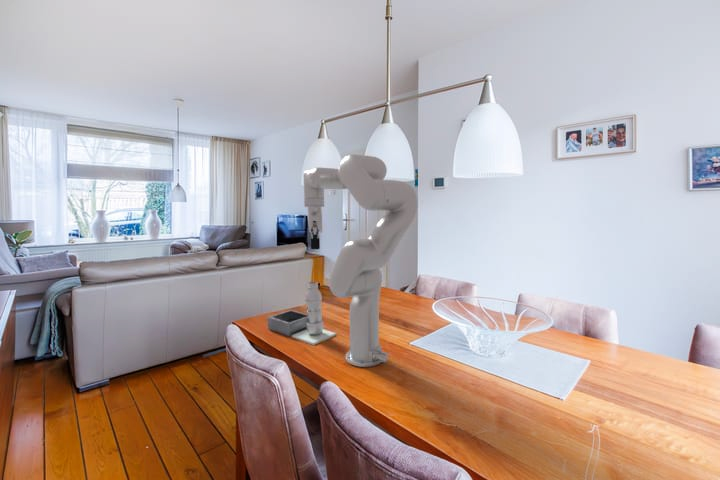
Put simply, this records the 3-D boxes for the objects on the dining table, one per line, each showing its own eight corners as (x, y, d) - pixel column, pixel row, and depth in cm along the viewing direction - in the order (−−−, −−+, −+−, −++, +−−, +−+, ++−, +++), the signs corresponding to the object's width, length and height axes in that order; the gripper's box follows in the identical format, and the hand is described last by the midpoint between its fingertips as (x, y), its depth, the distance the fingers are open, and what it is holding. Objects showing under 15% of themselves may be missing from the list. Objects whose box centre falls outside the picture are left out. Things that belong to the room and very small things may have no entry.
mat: (336, 335, 130) (336, 333, 130) (313, 345, 120) (313, 343, 120) (314, 328, 137) (314, 326, 137) (291, 337, 128) (291, 335, 128)
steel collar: (312, 327, 138) (312, 315, 138) (289, 336, 129) (288, 324, 128) (291, 320, 146) (291, 309, 146) (268, 328, 137) (267, 317, 136)
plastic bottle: (323, 336, 126) (321, 284, 124) (305, 337, 126) (303, 285, 124) (324, 330, 133) (322, 280, 131) (306, 331, 132) (304, 281, 130)
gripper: (324, 202, 119) (325, 250, 121) (323, 203, 136) (324, 244, 138) (303, 203, 118) (304, 250, 120) (305, 203, 135) (306, 245, 137)
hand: (315, 247), depth 129 cm, fingers open, 9 cm apart
